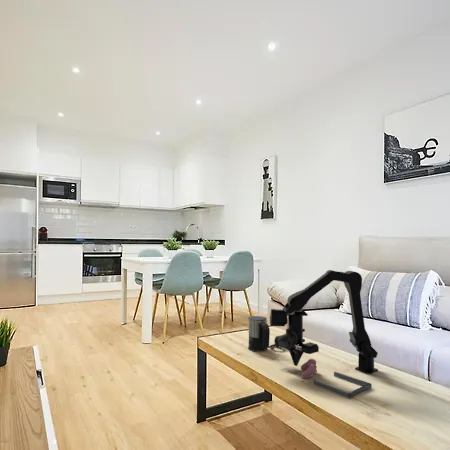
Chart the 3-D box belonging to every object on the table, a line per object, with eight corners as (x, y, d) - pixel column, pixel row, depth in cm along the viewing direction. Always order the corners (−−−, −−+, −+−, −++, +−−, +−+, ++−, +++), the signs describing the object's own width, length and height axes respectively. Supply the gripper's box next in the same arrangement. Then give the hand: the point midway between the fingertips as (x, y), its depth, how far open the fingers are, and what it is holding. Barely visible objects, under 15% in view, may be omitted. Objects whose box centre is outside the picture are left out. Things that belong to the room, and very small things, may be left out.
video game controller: (311, 384, 130) (320, 367, 129) (300, 377, 130) (308, 361, 130) (310, 374, 139) (318, 359, 139) (299, 368, 140) (307, 353, 140)
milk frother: (243, 348, 168) (244, 317, 169) (265, 342, 178) (265, 313, 179) (266, 355, 157) (266, 322, 158) (287, 348, 168) (287, 317, 169)
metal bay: (335, 375, 134) (335, 371, 134) (371, 388, 122) (371, 383, 123) (313, 384, 125) (313, 380, 125) (350, 398, 114) (350, 393, 114)
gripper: (265, 324, 144) (265, 363, 143) (300, 334, 129) (301, 377, 128) (283, 321, 151) (283, 358, 150) (319, 329, 136) (319, 370, 135)
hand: (295, 365), depth 141 cm, fingers closed
